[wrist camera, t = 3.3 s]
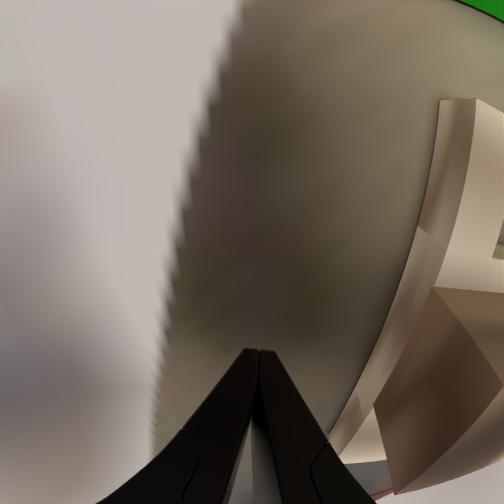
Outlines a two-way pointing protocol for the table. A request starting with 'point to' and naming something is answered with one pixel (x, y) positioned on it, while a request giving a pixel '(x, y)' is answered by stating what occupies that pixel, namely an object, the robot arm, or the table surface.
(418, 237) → the beige flat notched plate
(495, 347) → the block
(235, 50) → the table surface
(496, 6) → the puzzle cube
